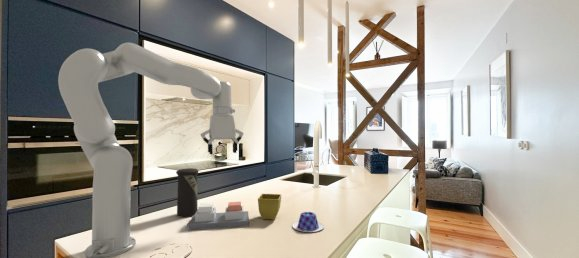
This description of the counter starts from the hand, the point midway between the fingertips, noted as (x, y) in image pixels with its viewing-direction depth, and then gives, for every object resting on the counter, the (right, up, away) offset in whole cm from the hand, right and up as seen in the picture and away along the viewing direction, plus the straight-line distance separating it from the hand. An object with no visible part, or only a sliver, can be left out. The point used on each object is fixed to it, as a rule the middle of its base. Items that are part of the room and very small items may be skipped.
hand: (223, 153), depth 103 cm
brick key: (+5, -23, -3) cm, 24 cm away
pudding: (+35, -28, -8) cm, 45 cm away
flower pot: (+19, -28, +2) cm, 34 cm away
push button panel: (0, -27, -4) cm, 27 cm away
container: (-17, -28, +6) cm, 33 cm away
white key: (-5, -23, -5) cm, 24 cm away
